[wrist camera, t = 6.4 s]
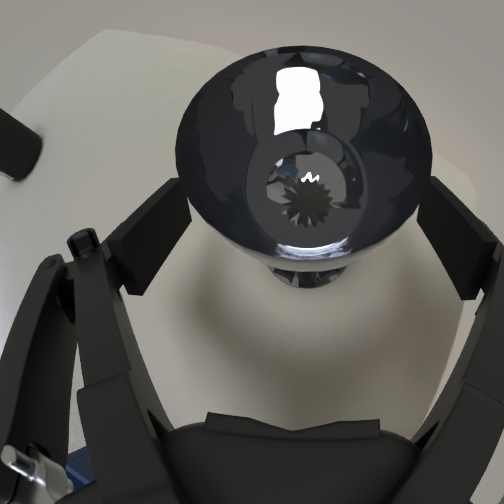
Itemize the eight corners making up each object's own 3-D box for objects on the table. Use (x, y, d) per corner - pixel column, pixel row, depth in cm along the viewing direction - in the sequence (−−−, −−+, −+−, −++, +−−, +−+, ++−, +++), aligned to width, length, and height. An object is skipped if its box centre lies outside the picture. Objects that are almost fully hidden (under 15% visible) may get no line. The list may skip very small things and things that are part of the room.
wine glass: (365, 206, 22) (425, 70, 7) (345, 304, 21) (422, 292, 6) (270, 186, 24) (220, 42, 9) (245, 279, 23) (139, 226, 8)
